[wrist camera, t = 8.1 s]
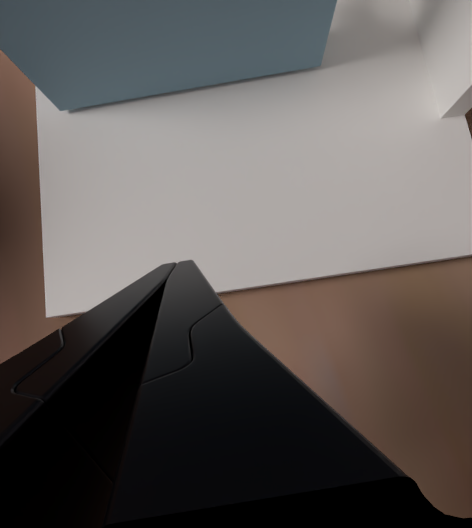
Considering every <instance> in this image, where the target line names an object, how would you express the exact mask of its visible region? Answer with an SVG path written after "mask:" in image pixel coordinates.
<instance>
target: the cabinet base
mask: <svg viewBox="0 0 472 528" xmlns="http://www.w3.org/2000/svg"><path fill="white" fill-rule="evenodd" d="M35 89H36V110H37V132H38V153H39V175H40V196H41V218H42V239H43V261H44V282H45V304H46V317H64V316H71V315H77V314H84V313H86V312H87V311H89V310H90V309H92V308H94V307H95V306H97V305H98V304H100V303H101V302H103V301H105V300H106V299H108V298H109V297H111V296H113V295H114V294H116V293H117V292H119V291H121V290H122V289H124V288H125V287H127V286H128V285H130V284H132V283H133V282H135V281H136V280H138V279H140V278H141V277H143V276H144V275H146V274H147V273H149V272H151V271H152V270H154V269H155V268H157V267H159V266H160V265H162V264H166V263H172V262H176V263H178V262H180V261H186V260H193V261H194V262H195V264H196V265H197V266H198V268H199V269H200V271H201V272H202V273H203V275H204V276H205V278H206V279H207V281H208V282H209V283H210V285H211V286H212V288H213V289H214V291H215V292H216V293H217V294H220V293H226V292H233V291H240V290H247V289H253V288H260V287H267V286H274V285H281V284H287V283H294V282H301V281H308V280H314V279H321V278H328V277H335V276H342V275H348V274H355V273H362V272H369V271H375V270H382V269H389V268H396V267H402V266H409V265H416V264H423V263H430V262H436V261H443V260H450V259H457V258H463V257H470V256H472V139H471V135H470V132H469V128H468V124H467V121H466V117H465V114H466V113H467V112H468V111H469V110H470V109H471V108H472V0H337V3H336V7H335V11H334V15H333V19H332V23H331V27H330V31H329V35H328V39H327V43H326V47H325V51H324V55H323V59H322V63H321V66H318V67H312V68H306V69H301V70H295V71H289V72H283V73H278V74H272V75H266V76H260V77H255V78H249V79H243V80H237V81H231V82H226V83H220V84H214V85H208V86H203V87H197V88H191V89H185V90H180V91H174V92H168V93H162V94H157V95H151V96H145V97H139V98H133V99H128V100H122V101H116V102H110V103H105V104H99V105H93V106H87V107H82V108H76V109H70V110H64V111H59V109H58V108H57V107H56V106H55V105H54V104H53V103H52V102H51V101H50V100H49V99H48V98H47V97H46V96H45V95H44V94H43V93H42V92H41V91H40V90H39V89H38V88H37V87H36V86H35Z"/></svg>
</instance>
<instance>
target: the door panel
mask: <svg viewBox="0 0 472 528" xmlns="http://www.w3.org/2000/svg"><path fill="white" fill-rule="evenodd" d="M336 3H337V0H0V49H1V50H2V51H3V52H4V53H5V54H6V55H7V56H8V57H9V58H10V59H11V61H12V62H13V63H14V64H15V65H16V66H17V67H18V68H19V69H20V70H21V71H22V72H23V73H24V74H25V75H26V76H27V77H28V78H29V79H30V80H31V81H32V82H33V83H34V84H35V86H36V87H37V88H38V89H39V90H40V91H41V92H42V93H43V94H44V95H45V96H46V97H47V98H48V99H49V100H50V101H51V102H52V103H53V104H54V105H55V106H56V107H57V108H58V109H59V111H64V110H70V109H76V108H82V107H87V106H93V105H99V104H105V103H110V102H116V101H122V100H128V99H133V98H139V97H145V96H151V95H157V94H162V93H168V92H174V91H180V90H185V89H191V88H197V87H203V86H208V85H214V84H220V83H226V82H231V81H237V80H243V79H249V78H255V77H260V76H266V75H272V74H278V73H283V72H289V71H295V70H301V69H306V68H312V67H318V66H321V63H322V59H323V55H324V51H325V47H326V43H327V39H328V35H329V31H330V27H331V23H332V19H333V15H334V11H335V7H336Z"/></svg>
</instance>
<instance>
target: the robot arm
mask: <svg viewBox="0 0 472 528" xmlns="http://www.w3.org/2000/svg"><path fill="white" fill-rule="evenodd" d="M0 528H472V518H459V517H454V516H450V515H445V514H443V513H442V512H441V511H439V510H438V509H436V508H435V507H434V506H433V505H432V504H431V503H430V502H429V501H428V500H427V499H426V498H425V497H424V495H423V494H422V492H421V491H420V489H419V487H418V485H417V484H416V482H415V481H414V480H413V479H411V478H410V477H409V476H407V475H406V474H405V473H404V472H403V471H402V470H401V469H400V468H398V467H397V466H396V465H395V464H394V463H393V462H392V461H391V460H389V459H388V458H387V457H386V456H385V455H384V454H383V453H382V452H381V451H379V450H378V449H377V448H376V447H375V446H374V445H373V444H372V443H371V442H369V441H368V440H367V439H366V438H365V437H364V436H363V435H362V434H361V433H359V432H358V431H357V430H356V429H355V428H354V427H353V426H352V425H351V424H349V423H348V422H347V421H346V420H345V419H344V418H343V417H342V416H341V415H339V414H338V413H337V412H336V411H335V410H334V409H333V408H332V407H331V406H329V405H328V404H327V403H326V402H325V401H324V400H323V399H322V398H321V397H319V396H318V395H317V394H316V393H315V392H314V391H313V390H312V389H311V388H309V387H308V386H307V385H306V384H305V383H304V382H303V381H302V380H301V379H299V378H298V377H297V376H296V375H295V374H294V373H293V372H292V371H291V370H289V369H288V368H287V367H286V366H285V365H284V364H283V363H282V362H281V361H279V360H278V359H277V358H276V357H275V356H274V355H273V354H272V353H271V352H269V351H268V350H267V349H266V348H265V347H264V346H263V345H262V344H261V343H259V342H258V341H257V340H256V339H255V338H254V337H253V336H252V335H251V334H250V333H249V332H248V331H246V330H245V329H244V328H243V327H242V326H241V325H240V324H239V322H238V321H237V320H236V319H235V318H234V316H233V315H232V314H231V313H230V311H229V310H228V308H227V307H226V306H225V305H224V303H223V302H222V301H221V299H220V298H219V296H218V295H217V293H216V292H215V291H214V289H213V288H212V286H211V285H210V283H209V282H208V281H207V279H206V278H205V276H204V275H203V273H202V272H201V271H200V269H199V268H198V266H197V265H196V264H195V262H194V261H193V260H186V261H180V262H178V263H176V262H172V263H166V264H162V265H160V266H159V267H157V268H155V269H154V270H152V271H151V272H149V273H147V274H146V275H144V276H143V277H141V278H140V279H138V280H136V281H135V282H133V283H132V284H130V285H128V286H127V287H125V288H124V289H122V290H121V291H119V292H117V293H116V294H114V295H113V296H111V297H109V298H108V299H106V300H105V301H103V302H101V303H100V304H98V305H97V306H95V307H94V308H92V309H90V310H89V311H87V312H86V313H84V314H82V315H81V316H79V317H78V318H76V319H75V320H73V321H71V322H70V323H68V324H67V325H65V326H63V327H62V330H61V329H58V330H56V331H54V332H53V333H51V334H50V335H48V336H46V337H45V338H43V339H42V340H40V341H38V342H37V343H35V344H33V345H32V346H30V347H28V348H27V349H25V350H23V351H22V352H20V353H19V354H17V355H15V356H13V357H12V358H10V359H8V360H6V361H5V362H3V363H1V364H0Z"/></svg>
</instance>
